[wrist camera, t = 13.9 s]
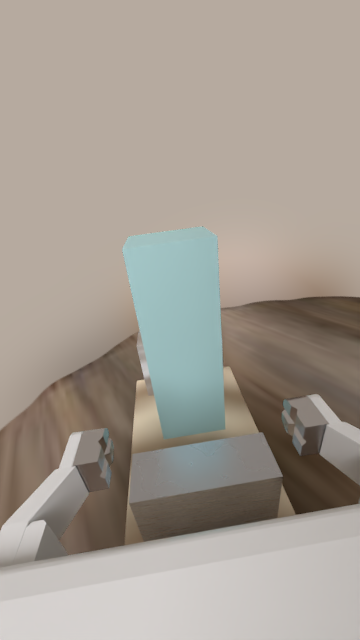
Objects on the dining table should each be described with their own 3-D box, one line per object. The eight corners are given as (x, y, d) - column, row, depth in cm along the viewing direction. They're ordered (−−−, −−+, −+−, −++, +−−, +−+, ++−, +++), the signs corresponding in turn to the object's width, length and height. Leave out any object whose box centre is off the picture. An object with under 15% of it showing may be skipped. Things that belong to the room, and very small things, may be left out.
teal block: (225, 429, 24) (217, 236, 16) (163, 439, 24) (122, 249, 15) (213, 392, 28) (202, 226, 20) (161, 400, 28) (128, 236, 20)
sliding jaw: (276, 521, 17) (282, 476, 14) (145, 544, 17) (128, 503, 14) (259, 476, 20) (262, 432, 17) (146, 496, 19) (132, 454, 17)
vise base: (345, 639, 13) (386, 580, 9) (118, 685, 13) (67, 642, 9) (229, 372, 33) (228, 318, 29) (138, 386, 32) (125, 333, 28)
